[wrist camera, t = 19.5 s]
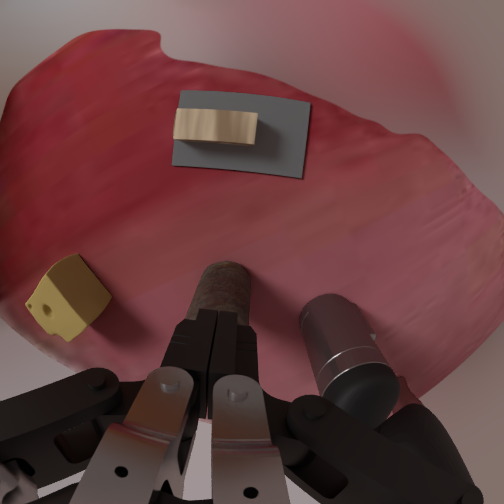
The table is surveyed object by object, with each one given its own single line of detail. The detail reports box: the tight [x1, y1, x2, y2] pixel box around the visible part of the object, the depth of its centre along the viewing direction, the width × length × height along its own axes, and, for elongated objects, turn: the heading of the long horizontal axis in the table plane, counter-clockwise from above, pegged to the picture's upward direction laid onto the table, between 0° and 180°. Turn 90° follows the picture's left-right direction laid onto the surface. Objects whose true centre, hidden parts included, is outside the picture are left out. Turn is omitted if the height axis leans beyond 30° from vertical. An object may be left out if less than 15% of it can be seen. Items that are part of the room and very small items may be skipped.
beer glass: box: [392, 376, 425, 414], centre depth 43 cm, size 7×7×15 cm
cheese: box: [25, 254, 112, 342], centre depth 37 cm, size 10×11×10 cm
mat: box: [172, 91, 310, 178], centre depth 35 cm, size 18×11×1 cm, turn 84°
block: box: [173, 108, 258, 147], centre depth 32 cm, size 4×4×10 cm
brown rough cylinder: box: [185, 261, 251, 326], centre depth 32 cm, size 8×7×20 cm
